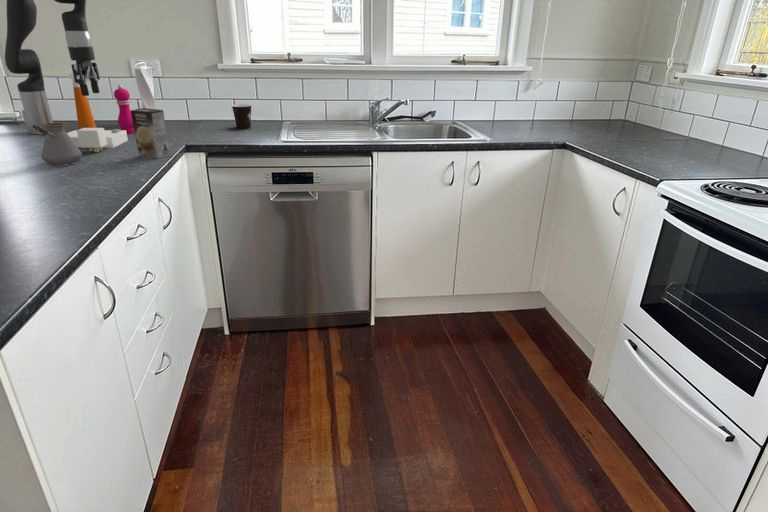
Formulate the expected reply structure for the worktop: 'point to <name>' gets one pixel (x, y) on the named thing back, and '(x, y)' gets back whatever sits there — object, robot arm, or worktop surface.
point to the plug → (91, 138)
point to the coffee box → (150, 133)
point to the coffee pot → (58, 145)
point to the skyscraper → (145, 86)
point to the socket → (112, 138)
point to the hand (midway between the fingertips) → (91, 94)
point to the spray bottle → (82, 107)
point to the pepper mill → (124, 110)
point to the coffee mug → (242, 115)
